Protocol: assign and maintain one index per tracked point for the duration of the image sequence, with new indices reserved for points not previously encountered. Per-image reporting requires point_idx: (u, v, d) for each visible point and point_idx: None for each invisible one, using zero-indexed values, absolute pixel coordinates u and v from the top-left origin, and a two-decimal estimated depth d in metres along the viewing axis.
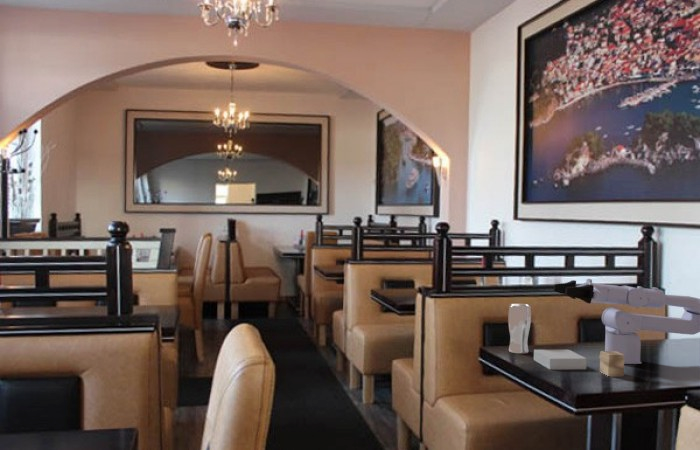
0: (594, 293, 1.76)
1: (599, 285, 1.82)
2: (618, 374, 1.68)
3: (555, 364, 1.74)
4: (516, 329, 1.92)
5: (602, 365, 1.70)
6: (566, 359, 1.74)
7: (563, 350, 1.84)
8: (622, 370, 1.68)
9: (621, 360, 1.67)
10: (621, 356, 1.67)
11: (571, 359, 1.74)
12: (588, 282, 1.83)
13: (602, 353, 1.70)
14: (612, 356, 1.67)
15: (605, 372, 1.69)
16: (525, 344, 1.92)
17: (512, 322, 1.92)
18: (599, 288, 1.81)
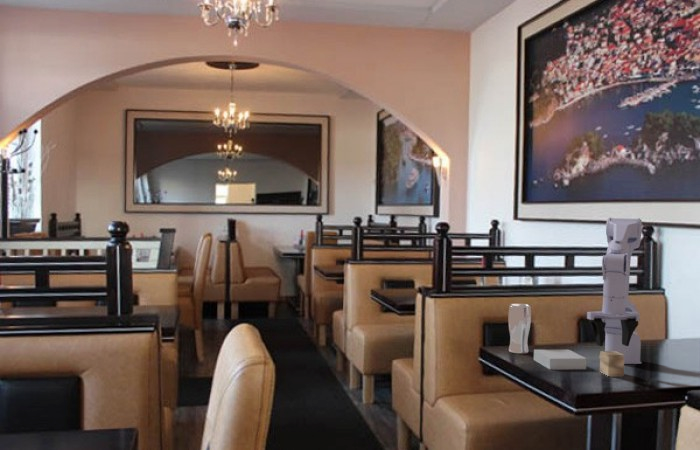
0: None
1: (623, 305, 1.67)
2: (618, 374, 1.68)
3: (555, 364, 1.74)
4: (516, 329, 1.92)
5: (602, 365, 1.70)
6: (566, 359, 1.74)
7: (563, 350, 1.84)
8: (622, 370, 1.68)
9: (621, 360, 1.68)
10: (621, 356, 1.67)
11: (571, 359, 1.74)
12: None
13: (602, 353, 1.70)
14: (612, 356, 1.67)
15: (605, 372, 1.69)
16: (525, 344, 1.92)
17: (512, 322, 1.92)
18: (624, 306, 1.68)
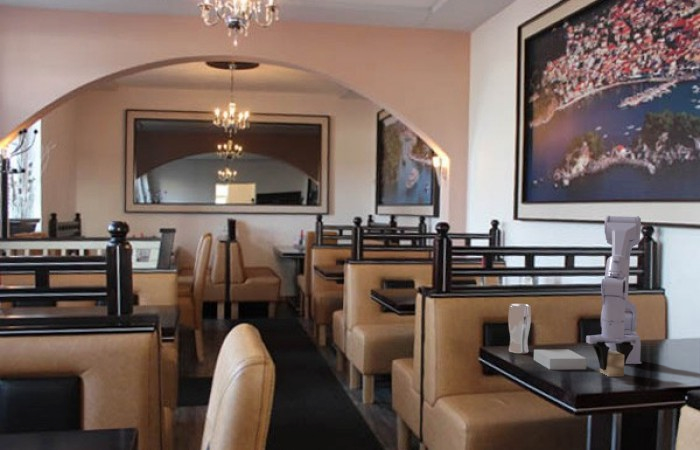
0: None
1: (622, 329, 1.67)
2: (618, 374, 1.68)
3: (555, 364, 1.74)
4: (516, 329, 1.92)
5: None
6: (566, 359, 1.74)
7: (563, 350, 1.84)
8: (622, 370, 1.68)
9: (621, 359, 1.67)
10: (621, 356, 1.67)
11: (571, 359, 1.74)
12: None
13: None
14: (612, 356, 1.67)
15: (605, 372, 1.69)
16: (525, 344, 1.92)
17: (512, 322, 1.92)
18: (624, 330, 1.68)
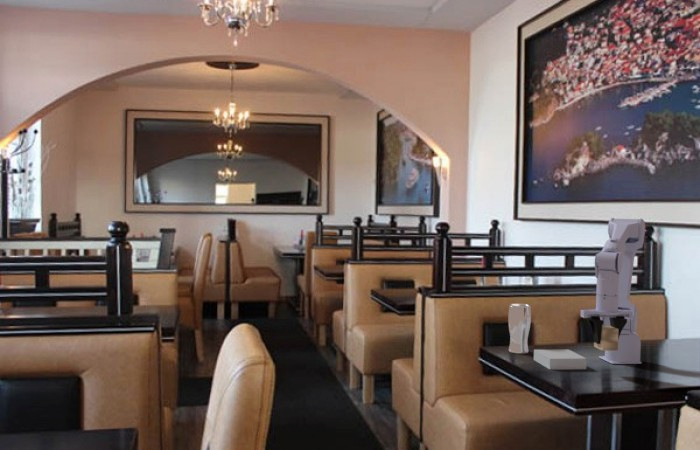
0: None
1: (616, 303, 1.68)
2: (612, 348, 1.69)
3: (555, 364, 1.74)
4: (516, 329, 1.92)
5: None
6: (566, 359, 1.74)
7: (563, 350, 1.84)
8: (616, 344, 1.69)
9: (615, 334, 1.68)
10: (615, 330, 1.68)
11: (571, 359, 1.74)
12: None
13: None
14: (606, 330, 1.68)
15: (599, 346, 1.70)
16: (525, 344, 1.92)
17: (512, 322, 1.92)
18: (618, 304, 1.69)
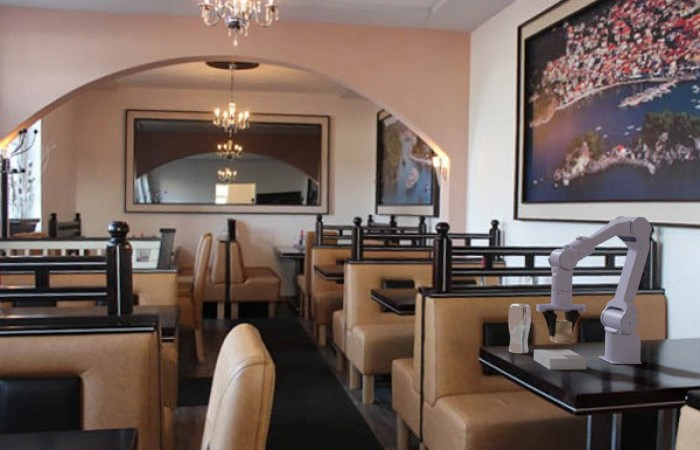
0: None
1: (569, 298, 1.77)
2: (566, 340, 1.77)
3: (555, 364, 1.74)
4: (516, 329, 1.92)
5: None
6: (566, 359, 1.74)
7: (563, 350, 1.84)
8: (570, 337, 1.77)
9: (568, 327, 1.77)
10: (569, 323, 1.77)
11: (571, 359, 1.74)
12: None
13: None
14: (560, 323, 1.77)
15: (554, 339, 1.78)
16: (525, 344, 1.92)
17: (512, 322, 1.92)
18: (571, 299, 1.78)
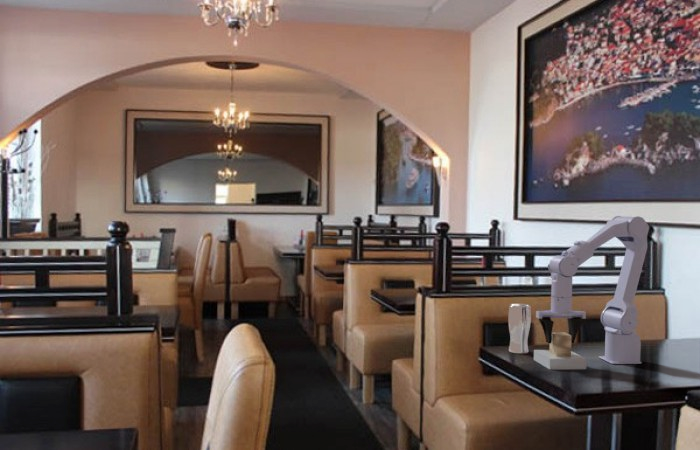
0: None
1: (569, 305, 1.77)
2: (566, 353, 1.77)
3: (555, 364, 1.74)
4: (516, 329, 1.92)
5: (551, 346, 1.80)
6: (566, 359, 1.74)
7: None
8: (569, 350, 1.77)
9: (568, 340, 1.77)
10: (568, 337, 1.77)
11: (571, 359, 1.74)
12: (566, 315, 1.76)
13: None
14: (560, 337, 1.76)
15: (554, 352, 1.78)
16: (525, 344, 1.92)
17: (512, 322, 1.92)
18: None
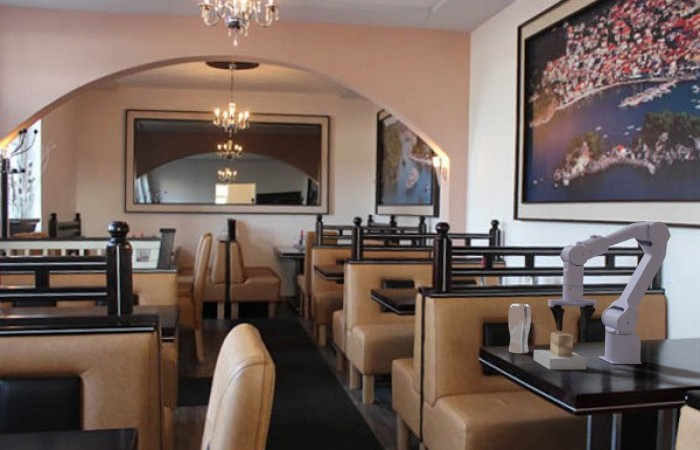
0: None
1: (581, 293, 1.80)
2: (567, 353, 1.77)
3: (555, 364, 1.74)
4: (516, 329, 1.92)
5: (552, 346, 1.80)
6: (566, 359, 1.74)
7: None
8: (571, 350, 1.77)
9: (569, 340, 1.77)
10: (570, 337, 1.77)
11: (571, 359, 1.74)
12: None
13: (552, 334, 1.80)
14: (561, 337, 1.77)
15: (555, 352, 1.78)
16: (525, 344, 1.92)
17: (512, 322, 1.92)
18: (582, 294, 1.81)
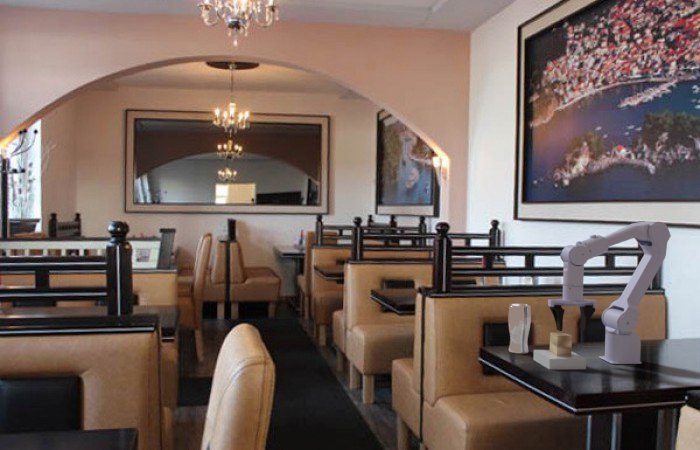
0: None
1: (581, 293, 1.80)
2: (566, 353, 1.77)
3: (554, 364, 1.74)
4: (516, 329, 1.92)
5: (551, 346, 1.80)
6: (566, 359, 1.74)
7: None
8: (570, 350, 1.77)
9: (569, 340, 1.77)
10: (569, 337, 1.77)
11: (571, 359, 1.74)
12: None
13: (552, 334, 1.80)
14: (560, 337, 1.77)
15: (554, 352, 1.78)
16: (525, 344, 1.92)
17: (512, 322, 1.92)
18: (582, 294, 1.81)
